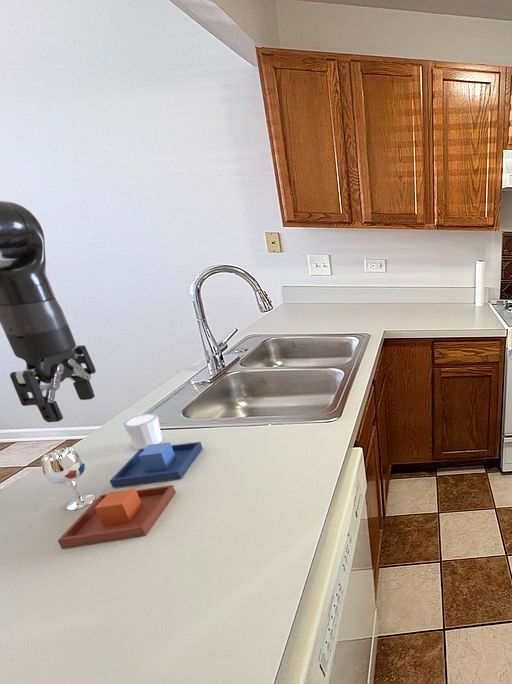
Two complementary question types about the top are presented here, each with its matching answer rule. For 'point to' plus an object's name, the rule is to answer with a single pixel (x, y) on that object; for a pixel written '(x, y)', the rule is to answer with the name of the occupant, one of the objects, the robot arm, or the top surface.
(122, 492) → the rust block
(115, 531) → the terracotta tray
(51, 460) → the wineglass
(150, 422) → the white faceted cylinder
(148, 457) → the blue block
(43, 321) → the robot arm
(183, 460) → the blue tray
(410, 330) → the top surface
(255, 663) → the top surface
